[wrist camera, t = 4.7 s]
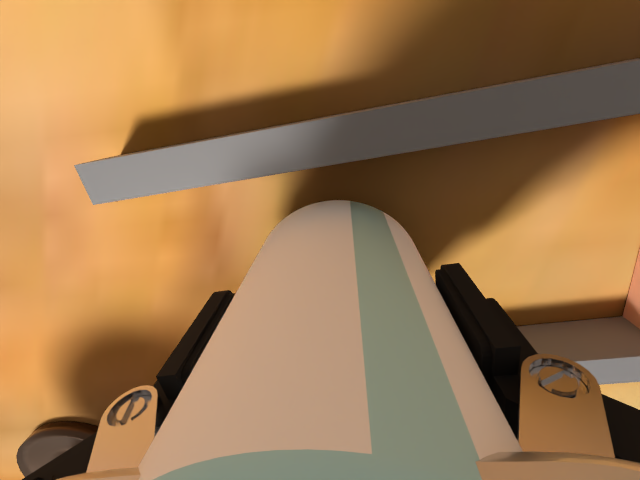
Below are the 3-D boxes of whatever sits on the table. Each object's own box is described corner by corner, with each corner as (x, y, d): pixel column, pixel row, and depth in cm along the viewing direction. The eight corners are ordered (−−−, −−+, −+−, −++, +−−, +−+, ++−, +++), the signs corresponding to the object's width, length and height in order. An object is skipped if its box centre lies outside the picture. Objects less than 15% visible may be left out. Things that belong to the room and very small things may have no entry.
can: (377, 348, 16) (460, 909, 5) (245, 305, 15) (-6, 828, 4) (446, 229, 13) (1032, 926, 2) (288, 170, 12) (-136, 686, 1)
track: (757, 35, 10) (906, 11, 8) (659, 336, 15) (729, 385, 13) (119, 155, 13) (62, 167, 11) (211, 375, 18) (189, 422, 16)
